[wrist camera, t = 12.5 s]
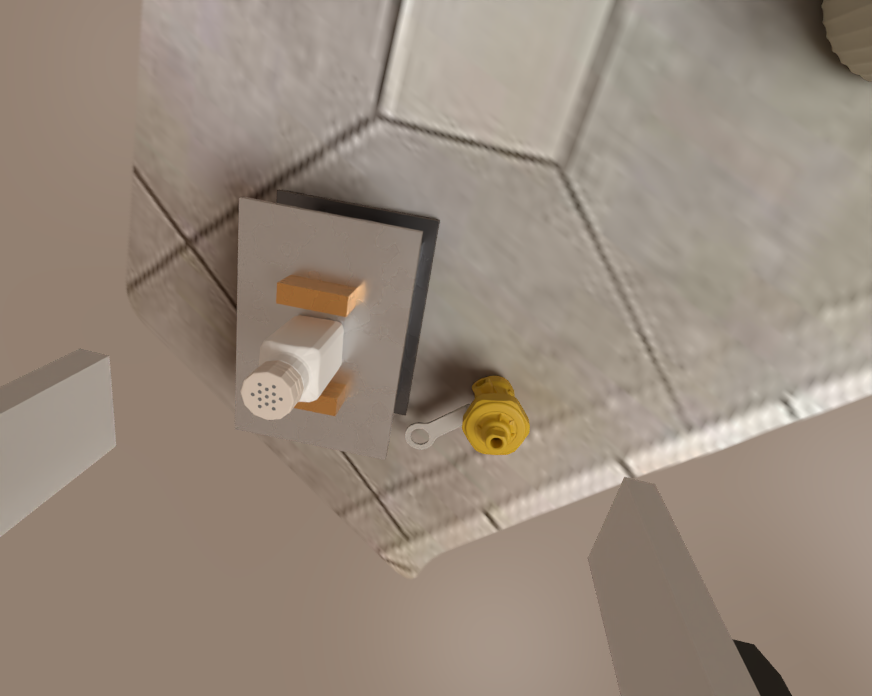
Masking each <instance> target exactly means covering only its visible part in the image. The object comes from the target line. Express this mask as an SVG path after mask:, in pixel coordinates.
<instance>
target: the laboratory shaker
mask: <svg viewBox="0 0 872 696" xmlns="http://www.w3.org/2000/svg"><path fill="white" fill-rule="evenodd" d="M439 223H440V220H437V219H432V218H427V217H422V216H416V215H411V214H406V213H401V212H396V211H390V210H385V209H380V208H375V207H369V206H364V205H359V204H354V203H349V202H343V201H338V200H333V199H328V198H323V197H317V196H312V195H307V194H302V193H297V192H291V191H286V190H277V203H274V202H269V201H263V200H258V199H253V198H248V197H240V198H239V227H238V284H237V340H236V397H235V429H237V430H242V431H247V432H252V433H257V434H262V435H267V436H272V437H276V438H281V439H286V440H291V441H296V442H301V443H306V444H311V445H315V446H320V447H325V448H330V449H335V450H340V451H345V452H350V453H354V454H359V455H364V456H369V457H374V458H379V459H384V460H385V459H386V456H387V452H388V446H389V440H390V433H391V427H392V421H393V415H394V413H396V414H401V415H406V412H407V408H408V402H409V396H410V390H411V385H412V379H413V373H414V367H415V361H416V356H417V350H418V344H419V338H420V333H421V327H422V321H423V315H424V309H425V304H426V298H427V292H428V286H429V280H430V275H431V269H432V263H433V257H434V252H435V246H436V240H437V234H438V228H439ZM298 315H301V316H308V317H314V318H320V319H326V320H332V321H338V322H340V323H342V325H343V329H344V335H343V350H342V364H341V366H340V368H339V369H338V371H337V372H336V374H335V375H334V376H333V378H332V379H331V381H330V382H329V384H328V385H327V386H326V388H325V389H324V391H323V392H322V393H321V395H320V396H319V398H318V399H317V400H315V401H312V402H298V403H297V404H296V405H295V407H294V408H293V409H292V411H291V412H290V413H288V414H287V415H285V416H284V417H283V418H281V419H274V420H266V419H263V418H261V417H258V416H256V415H254V414H253V413H252V412H251V411H250V410H249V409H248V408H247V407H246V406H245V405H244V402H243V398H242V395H241V389H242V385H243V382H244V379H246V378H247V377H248V376H249V375H250V374H251V373H252V372H253V371H254V370H256V369H257V368H258V367H259V355H260V347H261V345H262V343H263V342H264V340H265V339H267V338H268V337H269V336H270V335H272V334H273V333H274V332H275V331H277V330H278V329H279V328H280V327H281V326H283V325H284V324H285V323H286V322H288V321H289V320H290V319H291V318H293V317H294V316H298Z"/></svg>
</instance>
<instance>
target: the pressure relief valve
mask: <svg viewBox="0 0 872 696" xmlns="http://www.w3.org/2000/svg"><path fill="white" fill-rule="evenodd" d="M472 390H473V392H474V393H475V399H474V401H473V402H472V403H471V405H470V404H467V405H465V406H463V407H461V408H459V409H456V410H454V411H452V412H450V413H448V414H446V415H444V416H442V417H440V418H437V419H435V420H433V421H431V422H428V423H420V422H418V423H413V424H411V425H410V426H409V427H408V428H407V430H406V433H405V439H406V441H407V443H408V444H409V445H410V446H411V447H413V448H415V449H421V450H422V449H427V448H429V447H430V446H431V445H432V444H433V443H434V441H435V439H436V438H438V437H439V436H441V435H444V434H446V433H448V432H450V431H452V430H454V429H457V428H459V427H461V426H462V430H463V432H464V434H465V435H466V437H467V439H468V440H469V442H470V443H471V445H472V446H473V448H474V449H475V450H476V451H478V452H480V453H483V454H491V455H507V454H510V453H512V452H515V451H516V449H517V448H518V447H519V446H520V445H521V443H522V442H523V441H524V439H525V438H526V437H527V435H528V434H529V429H530V424H529V419H528V417H527V415H526V413H525V411H524V410H523V408H522V406H521V405H520V403H519V401H518V400H517V398H515V397H514V390H513V388H512V386H511V384H510V383H509V381H508V380H506V379H505V378H503V377H500V376H488V377H485V378H482V379H479V380H478V381H476V382H475V383H474V384H473V385H472ZM415 429H424V430H425V431H427V432H428V434H429V440H428V441H427V442H425V443H422V444H420V443H416V442H414V441H413V440H412V438H411V433H412V431H413V430H415Z"/></svg>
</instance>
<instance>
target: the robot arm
mask: <svg viewBox="0 0 872 696" xmlns="http://www.w3.org/2000/svg"><path fill="white" fill-rule="evenodd" d="M115 446H116V438H115V424H114V411H113V398H112V384H111V371H110V357H109V355H104V354H100V353H96V352H92V351H87V350H83V349H79V350H76V351H74V352H72V353H70V354H68V355H66V356H64V357H62V358H60V359H57V360H55V361H53V362H51V363H49V364H47V365H45V366H43V367H41V368H39V369H37V370H34V371H32V372H30V373H28V374H26V375H24V376H22V377H20V378H18V379H16V380H14V381H12V382H9V383H7V384H5V385H3V386H1V387H0V537H1V536H2V535H3V534H5V533H6V532H7V531H8V530H10V529H11V528H12V527H13V526H15V525H16V524H17V523H18V522H20V521H21V520H22V519H24V518H25V517H26V516H27V515H29V514H30V513H31V512H33V511H34V510H35V509H36V508H37V507H39V506H40V505H41V504H43V503H44V502H45V501H47V500H48V499H49V498H50V497H51V496H53V495H54V494H55V493H57V492H58V491H59V490H60V489H62V488H63V487H64V486H65V485H67V484H68V483H69V482H71V481H72V480H73V479H74V478H76V477H77V476H78V475H80V474H81V473H82V472H83V471H85V470H86V469H87V468H89V467H90V466H91V465H92V464H94V463H95V462H96V461H97V460H99V459H100V458H101V457H103V456H104V455H105V454H106V453H108V452H109V451H110V450H111V449H113V448H114V447H115ZM588 562H589V566H590V570H591V574H592V578H593V582H594V587H595V591H596V595H597V599H598V603H599V607H600V611H601V616H602V620H603V624H604V628H605V632H606V636H607V640H608V644H609V649H610V653H611V657H612V661H613V665H614V669H615V673H616V678H617V682H618V686H619V690H620V694H621V696H792V695H791V693H790V691H789V690H788V688H787V686H786V684H785V682H784V681H783V679H782V677H781V675H780V674H779V673H778V672H777V671H776V669H774V667H773V666H772V665H771V664H770V662H769V661H768V660H767V659H766V658H765V657H764V656H763V655H762V653H761V652H760V651H759V650H758V649H757V647H756V646H755V645H754V644H750V643H745V642H741V641H737V640H733V639H732V638H731V636H730V634H729V632H728V630H727V628H726V626H725V624H724V622H723V620H722V618H721V616H720V614H719V612H718V610H717V608H716V606H715V604H714V602H713V599H712V597H711V595H710V594H709V592H708V589H707V587H706V585H705V584H704V582H703V580H702V577H701V575H700V574H699V571H698V569H697V567H696V565H695V563H694V561H693V559H692V557H691V555H690V553H689V551H688V549H687V547H686V545H685V543H684V541H683V540H682V537H681V535H680V533H679V531H678V529H677V527H676V525H675V523H674V521H673V519H672V517H671V515H670V513H669V511H668V509H667V507H666V505H665V503H664V501H663V499H662V497H661V495H660V493H659V491H658V489H657V487H656V485H655V484H652V483H647V482H644V481H639V480H635V479H631V478H627V477H624V479H623V481H622V484H621V486H620V488H619V490H618V493H617V495H616V497H615V499H614V501H613V504H612V506H611V508H610V510H609V512H608V515H607V517H606V519H605V521H604V524H603V526H602V528H601V531H600V532H599V535H598V537H597V539H596V541H595V543H594V546H593V548H592V550H591V553H590V555H589V557H588Z"/></svg>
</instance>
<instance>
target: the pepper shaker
mask: <svg viewBox="0 0 872 696" xmlns="http://www.w3.org/2000/svg"><path fill="white" fill-rule="evenodd" d="M343 335H344V329H343V325H342V323H340V322H338V321H332V320H326V319H320V318H314V317H308V316H301V315H298V316H294V317H293V318H291V319H290V320H289V321H288V322H286V323H285V324H284V325H283V326H281V327H280V328H279V329H278V330H277V331H275V332H274V333H273V334H272V335H270V336H269V337H268V338H267V339H265V340H264V342H263V343H262V345H261V347H260V355H259V367H258V368H257V369H256V370H254V371H253V372H252V373H251V374H250V375H249V376H248V377H247V378H246V379H244V382H243V385H242V389H241V395H242V398H243V402H244V405H245V406H246V407H247V408H248V409H249V410H250V411H251V412H252V413H253V414H254V415H256V416H258V417H261V418H263V419H266V420H274V419H281V418H283V417H284V416H285V415H287V414H288V413H290V412H291V411H292V409H293V408H294V407H295V405H296V404H297V403H298V402H312V401H315V400H317V399H318V398H319V396H320V395H321V393H322V392H323V391H324V389H325V388H326V386H327V385H328V384H329V382H330V381H331V379H332V378H333V376H334V375H335V374H336V372H337V371H338V369H339V368H340V366H341V364H342V350H343Z"/></svg>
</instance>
